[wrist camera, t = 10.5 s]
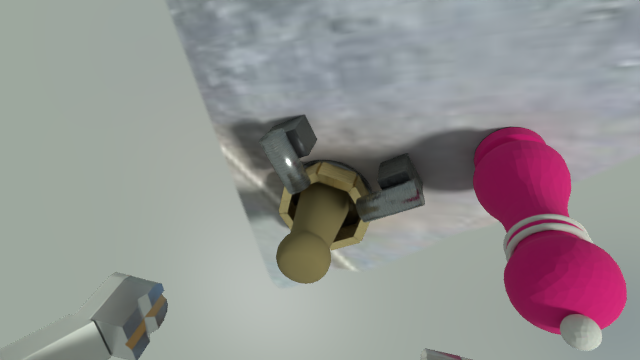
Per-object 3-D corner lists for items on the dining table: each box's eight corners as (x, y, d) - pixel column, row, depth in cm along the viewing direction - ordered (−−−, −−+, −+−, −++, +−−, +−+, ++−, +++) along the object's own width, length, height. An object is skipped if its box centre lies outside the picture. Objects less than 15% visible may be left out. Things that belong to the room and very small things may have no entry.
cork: (290, 197, 42) (255, 265, 34) (322, 169, 39) (293, 234, 30) (327, 229, 44) (303, 301, 35) (361, 203, 40) (344, 276, 32)
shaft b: (411, 151, 36) (410, 182, 31) (427, 182, 38) (427, 216, 33) (359, 171, 39) (350, 202, 34) (375, 198, 40) (369, 233, 36)
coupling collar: (280, 215, 45) (272, 231, 43) (296, 147, 39) (288, 161, 37) (358, 243, 45) (354, 260, 42) (386, 178, 39) (384, 194, 36)
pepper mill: (513, 199, 36) (586, 403, 20) (452, 166, 36) (476, 346, 20) (571, 145, 32) (722, 348, 16) (503, 107, 32) (586, 275, 16)
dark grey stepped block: (270, 122, 38) (248, 147, 34) (302, 110, 37) (284, 135, 32) (296, 168, 41) (279, 198, 36) (327, 159, 39) (313, 188, 34)
